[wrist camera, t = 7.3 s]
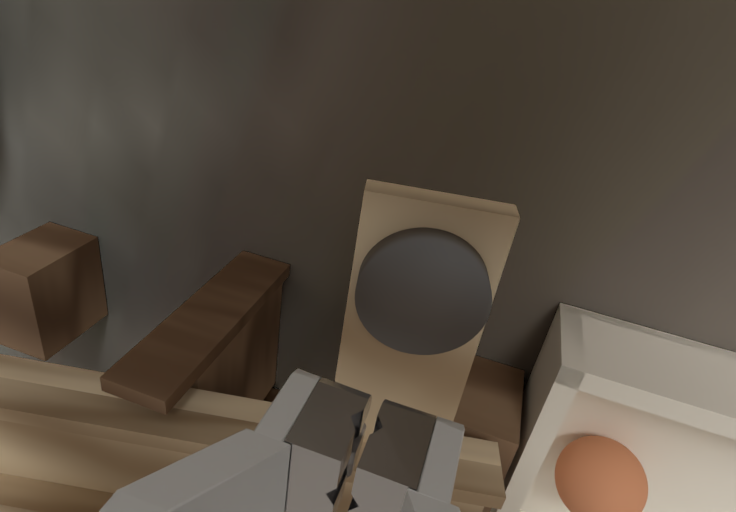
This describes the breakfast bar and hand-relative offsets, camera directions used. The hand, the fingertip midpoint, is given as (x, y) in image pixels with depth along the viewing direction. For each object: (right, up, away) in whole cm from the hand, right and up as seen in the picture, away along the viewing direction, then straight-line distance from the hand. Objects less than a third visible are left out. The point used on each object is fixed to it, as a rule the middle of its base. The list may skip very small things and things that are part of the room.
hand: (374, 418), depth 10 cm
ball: (+9, -6, +12) cm, 16 cm away
